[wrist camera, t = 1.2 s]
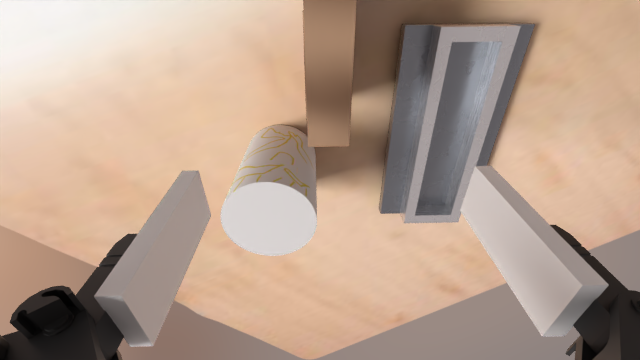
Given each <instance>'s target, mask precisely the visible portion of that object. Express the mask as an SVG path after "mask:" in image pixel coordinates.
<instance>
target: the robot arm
mask: <svg viewBox="0 0 640 360" xmlns="http://www.w3.org/2000/svg"><path fill="white" fill-rule="evenodd" d="M460 211H461V213H462V214H463V216H464V217H465V219H466V220H467V222H468V224H469V225H470V227H471V228H472V230H473V231H474V233H475V234H476V236H477V237H478V239H479V240H480V242H481V243H482V245H483V246H484V248H485V250H486V251H487V253H488V254H489V256H490V257H491V259H492V260H493V262H494V263H495V265H496V266H497V268H498V269H499V271H500V273H501V274H502V276H503V277H504V279H505V280H506V282H507V283H508V285H509V286H510V288H511V289H512V291H513V292H514V294H515V296H516V297H517V298H518V300H519V302H520V303H521V305H522V306H523V308H524V309H525V311H526V312H527V314H528V315H529V317H530V318H531V320H532V321H533V323H534V325H535V326H536V328H537V329H538V331H539V332H540V334H541V335H542V336H565V335H566V334H567V333H568V331H569V330H570V329H571V328H572V327H573V326H574V327H575V328H576V330H577V331H578V332H579V333H580V337H579V338H578V339H577V340H576V341H575V342H574V343H573V344H572V345H571V346H570V347H569V348H568V350H567V352H566V354H567V355H569V356H570V355H571V354H572V353H573V352H574V351H576V353H575V360H640V292H637V291H630V290H628V289H627V288H625V286H623V285H622V284H621V283H620V282H619V281H618V280H617V279H616V278H615V277H614V276H613V275H612V274H611V273H610V272H609V271H608V270H607V269H606V268H605V267H604V266H603V265H602V264H601V263H600V262H599V261H598V260H597V259H596V258H595V257H593V256H591V255H590V253H589V252H588V251H587V250H586V249H585V248H584V247H582V246H581V244H580V243H579V242H578V241H577V240H576V239H575V238H574V237H573V236H572V235H571V234H569V233H568V232H566V231H565V230H563V229H561V228H560V227H558V226H557V225H549V224H548V223H547V222H546V221H545V220H544V219H543V218H542V217H541V216H540V215H539V214H538V213H537V212H536V211H535V210H534V209H533V208H532V207H531V206H530V205H529V204H528V203H527V202H526V201H525V200H524V198H523V197H522V196H521V195H520V194H519V193H518V192H517V191H516V190H515V189H514V188H513V187H512V186H511V185H510V184H509V183H508V182H507V181H506V180H505V179H504V178H503V177H502V176H501V175H500V174H499V173H498V172H497V171H496V170H495V169H494V168H493V167H492V166H475V168H474V171H473V174H472V177H471V180H470V183H469V186H468V189H467V192H466V195H465V198H464V200H463V203H462V206H461V209H460ZM210 217H211V213H210V209H209V206H208V202H207V199H206V195H205V192H204V188H203V185H202V181H201V178H200V174H199V171H182V172H181V173H180V175H179V176H178V178H177V179H176V180H175V182H174V183H173V185H172V186H171V188H170V189H169V190H168V192H167V193H166V195H165V196H164V197H163V199H162V200H161V202H160V203H159V205H158V206H157V207H156V209H155V210H154V212H153V213H152V214H151V216H150V217H149V219H148V220H147V222H146V223H145V224H144V226H143V227H142V229H141V230H140V231H139V233H138V234H127V235H126V236H125V237H123V238H122V239H121V240H120V241H118V242H117V243H116V244H115V245H114V246H113V247H112V249H111V250H110V251H109V253H108V254H107V257H105V258H104V259H103V260H102V262H101V263H100V264H99V267H97V268H96V270H95V271H94V272H93V273H92V275H91V276H90V277H89V279H88V280H87V281H86V283H85V284H84V285H83V287H82V288H81V289H80V290H79V292H78V293H77V294H76V296H75V295H74V294H73V292H72V291H71V289H70V288H69V287H65V286H55V287H50V288H48V289H45V290H42V291H40V292H38V293H36V294H34V295H33V296H31V297H29V298H28V299H27V300H26V301H25V302H23V303H22V304H21V305H20V306H19V307H18V308H17V309H16V310H15V312H14V313H13V314H12V317H11V320H10V323H11V324H12V325H13V326H14V327H15V328H16V329H17V330H18V331H17V332H14V333H11V334H7V335H4V336H1V335H0V360H122V357H121V354H120V352H119V351H118V347H119V345H120V343H121V341H122V339H123V338H124V339H125V340H126V341H127V343H128V344H129V345H130V347H131V346H153V345H154V343H155V341H156V339H157V336H158V334H159V332H160V330H161V328H162V325H163V323H164V321H165V319H166V316H167V314H168V311H169V309H170V307H171V305H172V302H173V300H174V298H175V296H176V294H177V291H178V289H179V287H180V285H181V282H182V280H183V278H184V276H185V273H186V271H187V269H188V267H189V264H190V262H191V260H192V258H193V255H194V253H195V251H196V248H197V246H198V244H199V242H200V239H201V237H202V235H203V233H204V230H205V228H206V226H207V224H208V221H209V219H210Z"/></svg>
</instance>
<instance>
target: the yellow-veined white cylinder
mask: <svg viewBox="0 0 640 360" xmlns="http://www.w3.org/2000/svg"><path fill="white" fill-rule="evenodd" d="M221 223H222V226H223V229H224V231H225V232H226V234H227V235H228V237H229V238H230V239H231V240H232V241H233V242H234V243H235V244H237V245H238V246H240V247H241V248H243V249H245V250H247V251H250V252H252V253H256V254H260V255H267V256H278V255H285V254H289V253H292V252H294V251H297V250H298V249H300V248H302V247H303V246H305V245H306V244H307V243H308V242H309V241H310V240H311V238H312V237H313V235H314V233H315V230H316V226H317V201H316V153H315V149H314V147H308V137H307V136H306V135H305V134H304V133H303V132H301V131H300V130H298V129H296V128H294V127H291V126H287V125H273V126H269V127H266V128H264V129H262V130H260V131H259V132H258V133H257V134H256V135H255V136H254V137H253V138H252V140H251V142H250V144H249V146H248V148H247V151H246V153H245V155H244V158H243V160H242V162H241V165H240V167H239V169H238V171H237V174H236V176H235V178H234V181H233V183H232V185H231V188H230V190H229V192H228V194H227V197H226V199H225V201H224V204H223V206H222V209H221Z"/></svg>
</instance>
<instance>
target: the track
mask: <svg viewBox="0 0 640 360" xmlns="http://www.w3.org/2000/svg"><path fill="white" fill-rule="evenodd" d="M534 26H535V24H530V23H487V24H402V30H401V38H400V46H399V53H398V61H397V69H396V77H395V85H394V93H393V101H392V108H391V116H390V124H389V132H388V140H387V148H386V156H385V163H384V171H383V179H382V187H381V195H380V203H379V210H380V213H381V214H385V213H400V215H401V217H402V220H403V222H404V223H441V222H458V221H459V218H460V215H461V211H460V209H461V206H462V203H463V200H464V198H465V195H466V192H467V189H468V186H469V183H470V180H471V177H472V174H473V171H474V168H475V166H487V163H488V160H489V157H490V154H491V151H492V148H493V146H494V143H495V140H496V137H497V134H498V131H499V128H500V125H501V122H502V119H503V116H504V113H505V110H506V108H507V105H508V102H509V99H510V96H511V93H512V90H513V87H514V84H515V81H516V78H517V75H518V73H519V70H520V67H521V64H522V61H523V58H524V55H525V52H526V49H527V46H528V43H529V40H530V37H531V35H532V32H533V29H534Z"/></svg>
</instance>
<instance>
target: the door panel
mask: <svg viewBox="0 0 640 360" xmlns="http://www.w3.org/2000/svg"><path fill="white" fill-rule="evenodd" d="M356 3H357V0H303V5H304V10H303V33H304V64H305V94H306V120H307V131H308V147H339V146H349V139H350V120H351V100H352V81H353V61H354V42H355V23H356Z"/></svg>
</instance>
